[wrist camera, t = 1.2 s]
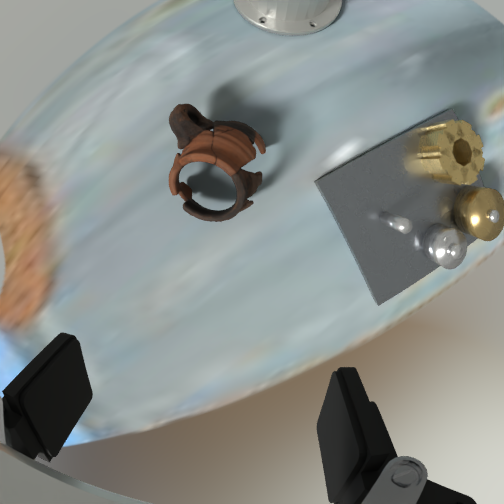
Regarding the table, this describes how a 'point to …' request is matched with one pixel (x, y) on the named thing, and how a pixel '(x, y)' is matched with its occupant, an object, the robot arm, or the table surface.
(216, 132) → the brown clawed ring bracket
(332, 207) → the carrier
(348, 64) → the table surface
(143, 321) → the table surface
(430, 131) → the planet gear
